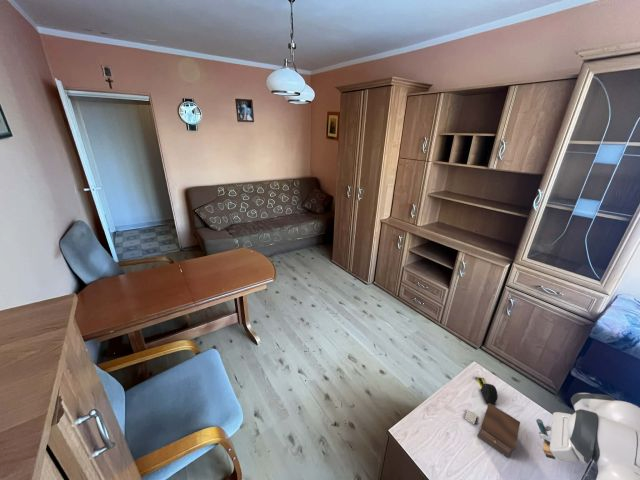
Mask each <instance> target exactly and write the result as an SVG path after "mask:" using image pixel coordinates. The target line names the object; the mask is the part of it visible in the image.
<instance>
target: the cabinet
mask: <svg viewBox="0 0 640 480" xmlns="http://www.w3.org/2000/svg"><path fill="white" fill-rule="evenodd" d="M486 407H487V408H486V409H485V412H484V414H483V417H482V419H481V422H480V425H479V429H478V431H477V434H476V437H477V438H478V439H480V440H481V441H483V442H484V443H486V444H487V445H489V446H490V447H492V448H493V449H494V450H496V451H497V452H499V453H500V454H501V455H503V457H506V458H509V456H510V455H511V453H512V452H513V450H516V445H517V440H518V435H519V431H520V426H521V421H519V420H518V419H516V418H514V417H513V416H512V415H510V414H508V413H507V412H505V411H503V410H502V409H500V408H499V407H497V406H495V405H492V404H490V403H489V404H487V406H486Z"/></svg>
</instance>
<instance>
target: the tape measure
mask: <svg viewBox="0 0 640 480" xmlns="http://www.w3.org/2000/svg"><path fill="white" fill-rule="evenodd" d="M475 379H476V380H477V382H478V384H479V386H480V393H481V395H482V398H483V401H484V403H485V404H486V405H488V404H489V403H490V404H492V405H494V406H495V405H496V403H497V400H498V397H499V396H498V389H497V388H496V386H495V385H494V384H490V383H488V382H487V383H486V382H485V380H484V377H483V378H482V377H478V376H475Z"/></svg>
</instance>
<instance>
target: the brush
mask: <svg viewBox="0 0 640 480" xmlns="http://www.w3.org/2000/svg"><path fill="white" fill-rule="evenodd" d="M535 422H536V423H537V426H538V428H539V432H543V433H544V434H545V435H547V436H548V435H549V434H548V431H546V429H545V427H544V426H545V424H544V422H543V420H542V419H540V418H537V419H536V420H535ZM542 451H543V453H544V455H545V457H546V458H548V459H552V460H556V458H555V457H554V456H553V454H552V453H551V451H550V442H549V441H547V440H546V439H543V444H542Z"/></svg>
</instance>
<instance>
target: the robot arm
mask: <svg viewBox="0 0 640 480" xmlns="http://www.w3.org/2000/svg"><path fill="white" fill-rule="evenodd" d="M570 402H571V405H572V407H573V409H574V413H572V414H571V413H566V412H561V411H560V412H559V411H554V412H552V419H551V424H550V423H549V424H546V425H544V427H545V429H546V431H547V432H550V434H548V436H547V435H545V434H544V433H543V432H541V431H539V432H538V437H539V439H541V440H544V439H546V440H547V441H549V442H550V451H551V453H552V454H553V456H554V457H555V459H557V460H559V461H564V462H571V463H576V462H579V461H580V462H581V463H582V464H588V465H589V463H590V462H591V460H592V461H593V462H594V463H595V464H596V465H597V470H598V471H597V475H596V478H595V480H640V407H639V406H638V405H636V404H634V403H631V402H628V401H623V400H616V399H615V398H614V397H613V396H611V395H608V394H602V393H590V392H577V393H574V394H573V395H572V397H570Z"/></svg>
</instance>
